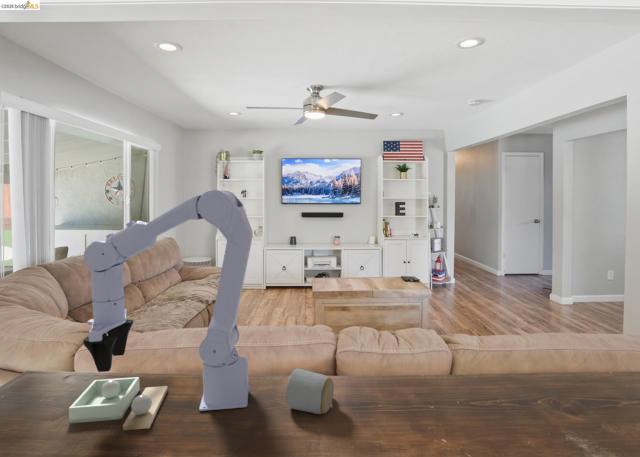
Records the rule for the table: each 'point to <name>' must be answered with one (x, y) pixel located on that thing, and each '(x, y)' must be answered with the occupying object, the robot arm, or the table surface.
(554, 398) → the table surface
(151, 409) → the oak board
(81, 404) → the tub
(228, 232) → the robot arm
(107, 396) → the white ball
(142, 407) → the pebble
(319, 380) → the grey cylinder tan end
